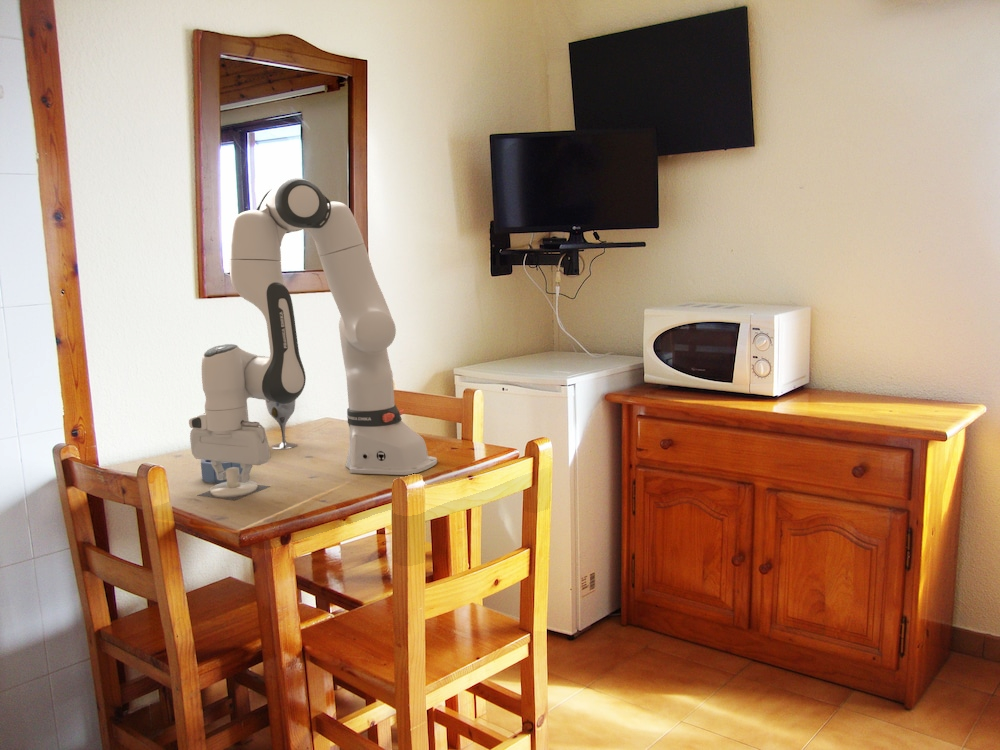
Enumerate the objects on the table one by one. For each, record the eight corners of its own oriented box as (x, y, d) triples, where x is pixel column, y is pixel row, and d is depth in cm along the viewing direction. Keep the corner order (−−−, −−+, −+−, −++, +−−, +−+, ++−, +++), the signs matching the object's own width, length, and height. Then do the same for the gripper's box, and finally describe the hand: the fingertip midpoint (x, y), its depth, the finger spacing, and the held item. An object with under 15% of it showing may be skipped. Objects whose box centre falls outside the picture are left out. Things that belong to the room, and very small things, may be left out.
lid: (267, 486, 187) (265, 465, 186) (235, 499, 178) (232, 476, 177) (233, 482, 191) (231, 461, 190) (200, 494, 182) (198, 472, 181)
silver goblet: (263, 448, 226) (258, 394, 223) (281, 442, 233) (276, 389, 231) (287, 450, 223) (283, 395, 220) (305, 443, 230) (300, 389, 228)
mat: (270, 488, 187) (270, 486, 187) (234, 502, 177) (234, 500, 177) (234, 483, 192) (233, 481, 192) (197, 497, 182) (197, 495, 182)
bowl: (254, 475, 198) (252, 455, 198) (224, 486, 190) (222, 465, 189) (224, 472, 203) (222, 452, 202) (194, 482, 194) (191, 461, 194)
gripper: (273, 419, 180) (279, 481, 182) (204, 414, 189) (210, 473, 191) (252, 425, 174) (258, 489, 177) (183, 419, 184) (189, 480, 186)
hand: (233, 480), depth 184 cm, fingers open, 5 cm apart
